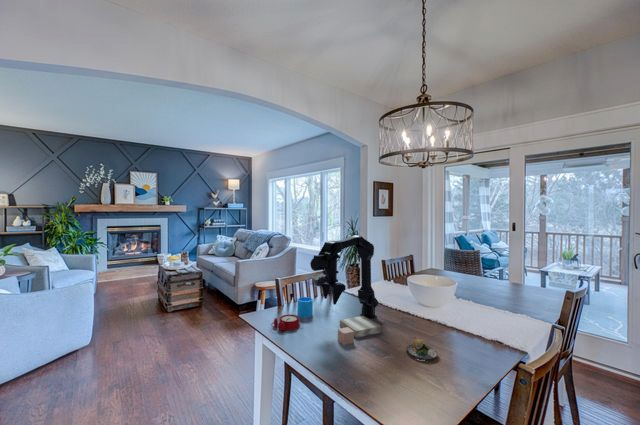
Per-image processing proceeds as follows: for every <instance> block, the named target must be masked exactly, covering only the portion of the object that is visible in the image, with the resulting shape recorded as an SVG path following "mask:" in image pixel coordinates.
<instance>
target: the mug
mask: <svg viewBox="0 0 640 425" xmlns="http://www.w3.org/2000/svg"><path fill="white" fill-rule="evenodd" d="M313 302H314V299H313V298H312V297H309V296H302V297H299V298H297V311H296V312H297V315H296V316H298V317H300V318H309V317H312V316H313V314H314V313H313V311H314V310H313V309H314V306H313V305H314V304H313Z"/></svg>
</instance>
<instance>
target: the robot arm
mask: <svg viewBox="0 0 640 425" xmlns="http://www.w3.org/2000/svg"><path fill="white" fill-rule="evenodd" d="M351 247H355V249H357V253H358V254H357V255H358V256H359V258H360V260H361V261H360V266H361V268H360V269H361V271H360V274H361V275H360V276H361V287H360V288H359V289H358V290H357V297H358V300H359V304H361V306H362V307H361V313H360V314H359V315H360V316H365V317H366V318H368V319H373V318H377V317H378V316H377V315H376V308H377V307H378V305H379V301H378V298H376V296H375V294H376V293H375V290H374V289H373V287H372V263H371V262H372V258H373V257H374V254H375V246H374V244H373V243H371V242H370V241H369V240H367V239H365V238H364V237H363V236H361V235H358V234H357V235H356V234H355V235H352V236H349V237H346V238H343V239H339V240H327V241H324V243H323V246H322V247H321V249H320V251H319V253H318V255H313V258H312V259H311V260H310V263H309V264H310V268H311V270H312V271H313V272H318V271H322V273H319V274H317V275H315V276H313V277H312V281H313V284H314V286H315V285H316V286H317V287H320V288H321V290H322V294H323V298H324V300H326V299H327V298H328V295H329V292H330V293H331V294H332V295H331V296H332V305H334V306H335V305H337V303H338V301H339V299H340V297H341V295H342V294H343V293H344V292H345V291H346V285H345V284H344V283H342V282H339V279H338V278H337V276H338V274H339V270H338V259H340V258H341V256H340V255H339V254H340V253H341V252H342V251H343V250H344V249H347V248H351Z"/></svg>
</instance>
